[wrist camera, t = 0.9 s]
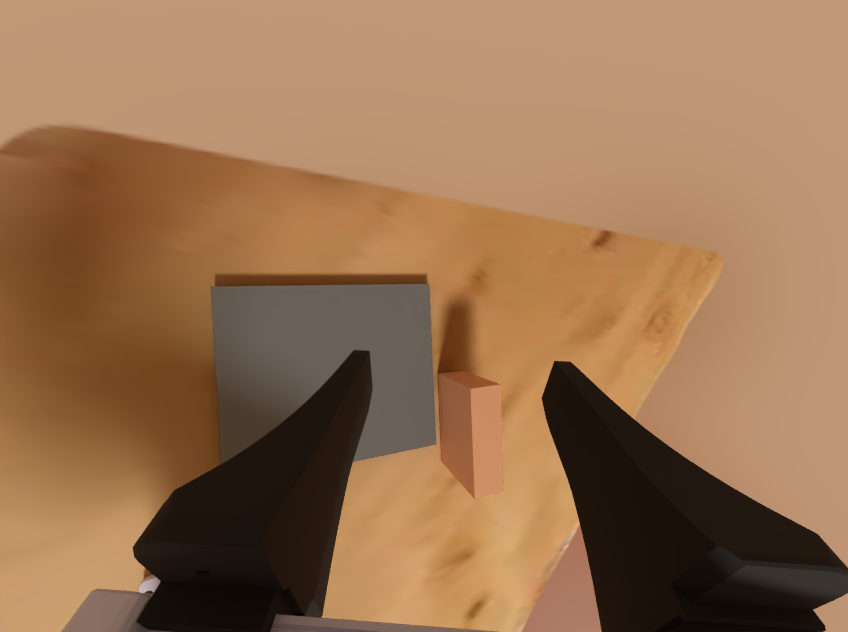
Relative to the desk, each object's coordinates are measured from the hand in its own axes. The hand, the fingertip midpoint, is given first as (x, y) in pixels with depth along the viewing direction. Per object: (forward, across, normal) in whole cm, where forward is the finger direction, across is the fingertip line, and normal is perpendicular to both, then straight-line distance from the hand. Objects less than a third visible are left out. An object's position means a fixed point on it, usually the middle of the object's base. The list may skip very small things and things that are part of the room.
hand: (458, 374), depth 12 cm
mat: (+9, +8, +9) cm, 15 cm away
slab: (+10, -1, +14) cm, 17 cm away
